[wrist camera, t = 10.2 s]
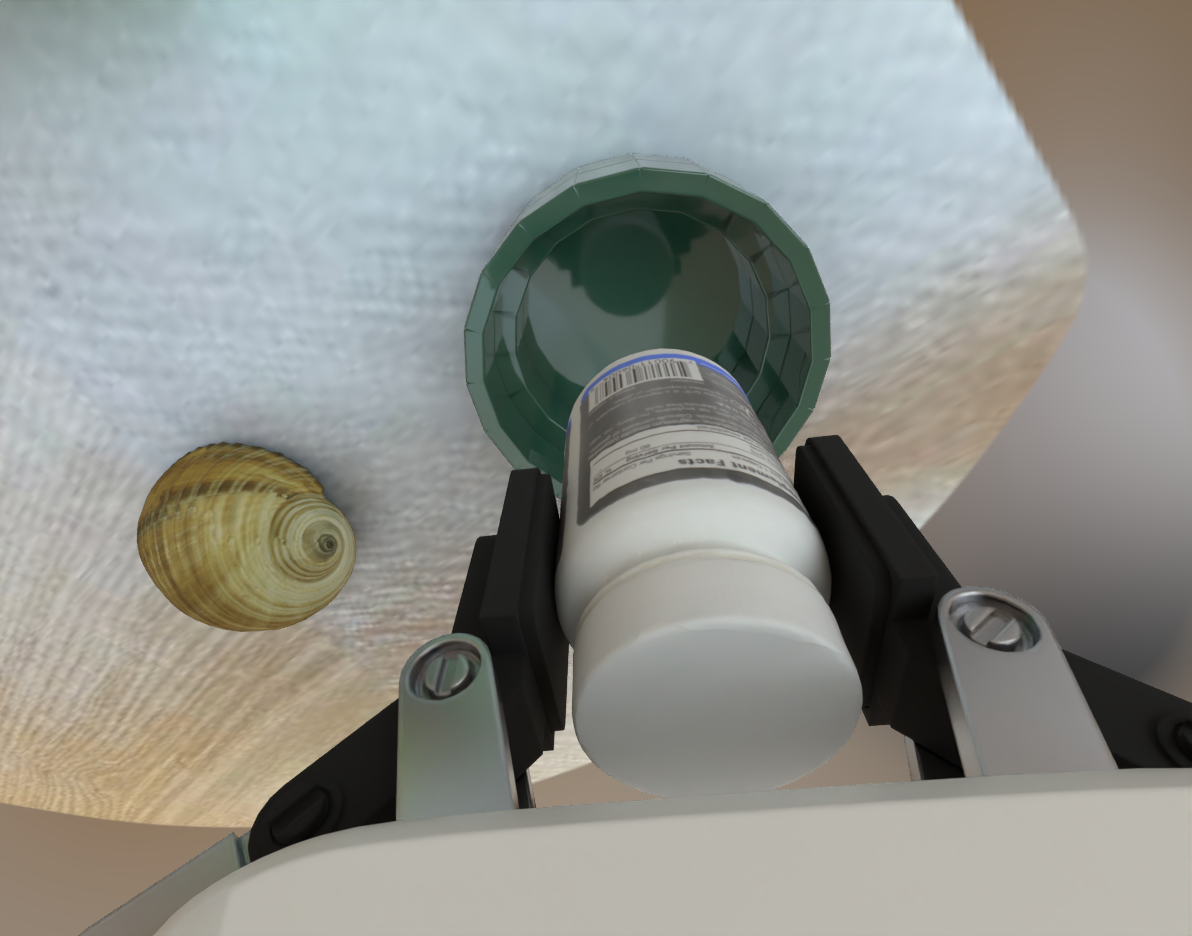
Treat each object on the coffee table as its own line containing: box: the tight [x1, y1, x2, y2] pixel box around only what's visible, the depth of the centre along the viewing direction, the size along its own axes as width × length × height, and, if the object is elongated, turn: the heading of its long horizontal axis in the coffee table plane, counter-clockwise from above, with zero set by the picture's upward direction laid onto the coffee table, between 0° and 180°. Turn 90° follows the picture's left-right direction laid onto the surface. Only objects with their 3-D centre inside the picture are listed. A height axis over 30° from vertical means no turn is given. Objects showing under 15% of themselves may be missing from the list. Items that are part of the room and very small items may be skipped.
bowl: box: [464, 153, 831, 499], centre depth 20 cm, size 11×11×5 cm
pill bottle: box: [555, 348, 863, 798], centre depth 11 cm, size 5×5×8 cm
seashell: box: [137, 442, 356, 632], centre depth 25 cm, size 10×7×8 cm
